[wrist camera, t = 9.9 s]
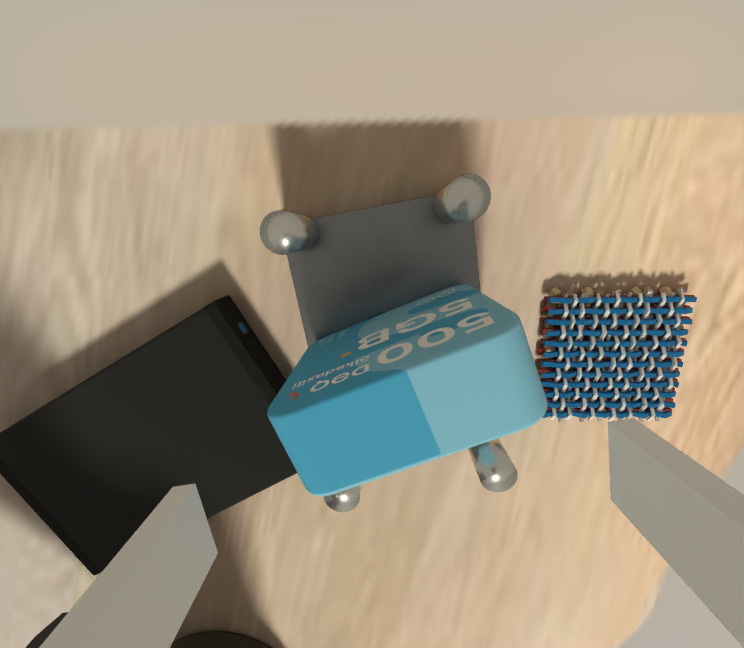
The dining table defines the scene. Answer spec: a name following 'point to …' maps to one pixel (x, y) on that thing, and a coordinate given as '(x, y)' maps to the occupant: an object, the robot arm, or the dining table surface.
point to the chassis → (386, 276)
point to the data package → (407, 390)
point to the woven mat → (613, 353)
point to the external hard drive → (152, 434)
